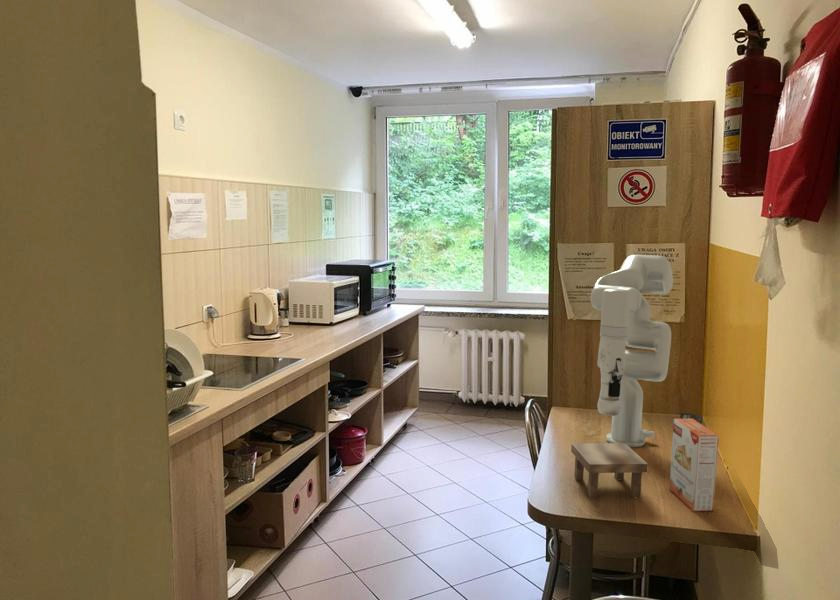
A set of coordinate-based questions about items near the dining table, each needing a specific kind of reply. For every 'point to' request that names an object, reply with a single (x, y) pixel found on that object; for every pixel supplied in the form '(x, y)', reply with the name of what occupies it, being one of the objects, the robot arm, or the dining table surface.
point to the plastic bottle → (606, 403)
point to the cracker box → (694, 464)
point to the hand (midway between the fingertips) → (609, 393)
